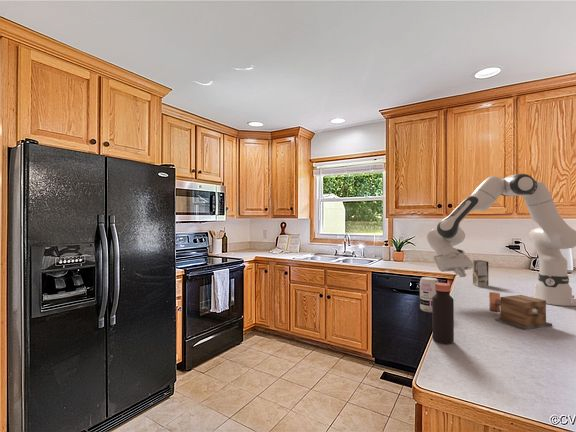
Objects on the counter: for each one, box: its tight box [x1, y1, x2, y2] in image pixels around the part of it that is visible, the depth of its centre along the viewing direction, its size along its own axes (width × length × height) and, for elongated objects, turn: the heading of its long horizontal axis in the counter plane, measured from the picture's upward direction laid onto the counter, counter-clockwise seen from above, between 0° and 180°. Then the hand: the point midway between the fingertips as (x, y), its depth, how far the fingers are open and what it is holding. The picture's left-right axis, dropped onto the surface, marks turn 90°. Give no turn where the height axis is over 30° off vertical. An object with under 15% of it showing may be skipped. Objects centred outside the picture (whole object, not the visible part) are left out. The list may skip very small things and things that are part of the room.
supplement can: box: [419, 276, 440, 313], centre depth 148 cm, size 8×8×15 cm
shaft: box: [488, 291, 538, 315], centre depth 135 cm, size 4×20×8 cm, turn 18°
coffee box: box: [472, 259, 489, 288], centre depth 203 cm, size 9×6×16 cm
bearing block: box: [494, 294, 553, 331], centre depth 130 cm, size 16×12×10 cm
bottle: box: [431, 282, 455, 345], centre depth 111 cm, size 7×7×20 cm
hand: (463, 276), depth 158 cm, fingers closed
